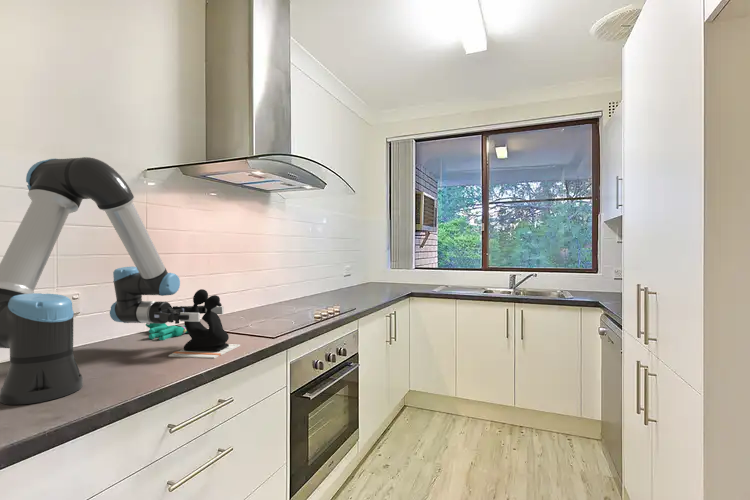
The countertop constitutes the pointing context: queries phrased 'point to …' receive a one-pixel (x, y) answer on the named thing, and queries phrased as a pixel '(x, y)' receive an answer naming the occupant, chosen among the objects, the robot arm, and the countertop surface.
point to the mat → (203, 352)
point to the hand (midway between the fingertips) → (211, 313)
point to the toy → (165, 331)
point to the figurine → (201, 335)
